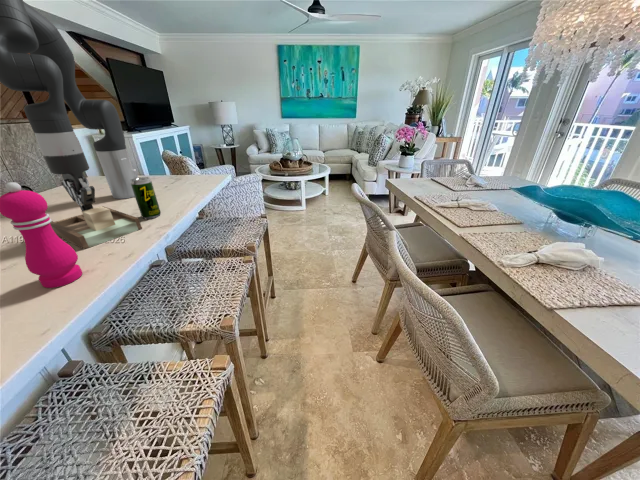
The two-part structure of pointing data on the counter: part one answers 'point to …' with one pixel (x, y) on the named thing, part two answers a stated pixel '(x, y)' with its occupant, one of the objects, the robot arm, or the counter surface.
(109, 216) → the maple block
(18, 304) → the counter surface
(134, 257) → the counter surface
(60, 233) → the box
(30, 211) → the pepper mill
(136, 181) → the beer can
